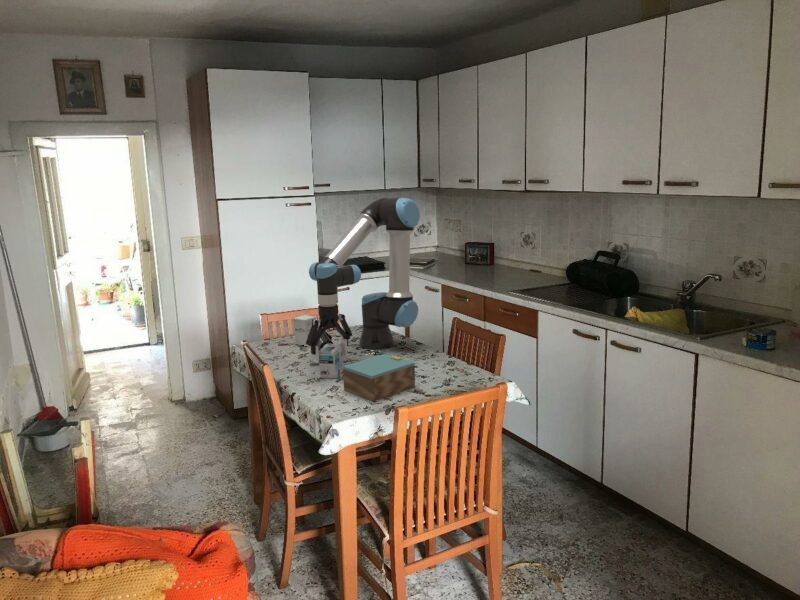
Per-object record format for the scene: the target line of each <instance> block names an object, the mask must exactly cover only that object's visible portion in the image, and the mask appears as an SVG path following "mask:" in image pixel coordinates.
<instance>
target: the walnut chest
mask: <svg viewBox="0 0 800 600" xmlns="http://www.w3.org/2000/svg"><path fill="white" fill-rule="evenodd" d="M415 367H416V366H415V365H414V366H411V367H408V368H404V369H401V370H398V371H395V372H392V373H389V374H386V375H383V376H380V377H376V378H373V379H370V378H368V377H365V376H362V375H359V374H356V373H353V372H350V371H347V370H345V369H343V372H342V376H343V390H344V391H346V392H348V393H350V394H353V395H354V396H355V395H356V396H358V397H360V398H363V399H366V400H368V401H371V402H375V401H377V400H378V401H379V400H380V398H381V399H383V397H384V398H386V397H388V396H389V397H390V396H392V395H395V394H398V393H400V392H403V391H407V390H409V389H412V388H415V387H416V371H415V370H416V369H415Z"/></svg>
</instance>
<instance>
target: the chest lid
mask: <svg viewBox="0 0 800 600" xmlns="http://www.w3.org/2000/svg"><path fill="white" fill-rule="evenodd" d="M414 365H415V362H414V361H411V360H408V359H404V358H403V357H400V356H397V355H391V354H387V353H384V354H379V355H377V356H373V357H369V358H366V359H363V360H359V361H356V362H353V363H350V364H345V365H344V366H343V369H345V370H347V371H350V372H353V373H356V374H359V375H362V376H365V377H368V378H370V379H373V378H376V377H380V376H383V375H386V374H389V373H392V372H395V371H398V370H401V369H404V368H408V367H411V366H414Z"/></svg>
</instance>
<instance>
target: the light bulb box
mask: <svg viewBox="0 0 800 600" xmlns="http://www.w3.org/2000/svg"><path fill="white" fill-rule="evenodd" d="M318 356H319V363H318V364H319V367H318V368H319V377H320V379H322V378H323V379H337V378H338V377H339V376H340V375H341V374H343V366H345V365H344V355H343V346H342V344H341V343H326V344H324V345H323V347H321V348H320V349H318Z"/></svg>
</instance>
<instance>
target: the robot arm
mask: <svg viewBox="0 0 800 600" xmlns="http://www.w3.org/2000/svg"><path fill="white" fill-rule="evenodd" d="M420 217H421V213H420V208H419V206H418V204H417V203H416V201H414V200H413V199H412V198H407V197H380V198H378V199H375V200H374V201H372V202H371V203H369V204H368V205H367V206H366V207H364V208H363V209H362V210H361V212H360V213H359V214H358V215H357V219H356V221H355V222H354V223H353V224H352V226H351V227H350V228H349V229H348V230H347V231H346V232H345V233H344V235H343V236H342V237H341V238H340V239H339V240H338V242H337V243H336V244H335V245H334V246H333V247H332V248H331V250H329V252H328V253H327V254H326V255H325V256H324V257H323V259H321V261H320V262H318V261H317V262H313V263H312V264H311V265H310V266H309V268H308V274H309V277H310V279H311V280H313V281H314V282H316V286H317V289H316V290H317V304H318V305H317V307H318V309H317V311H318V316H319V317H318V318H319V319H316V320H315V319H313V320H312V326H311V329H310V332H309V335H308V338H307V341H306V345H309V346H308V347H310V354H311V355H312V362H313V363H316V364H319V352H318V351H319V346H318V345H317V344H319V341H320V339H321V338H322V336H323V334H324V333H325V332H326V331H327V330H330V329H335V330H336V331H337V332H338V333H339V334H340V336H341V337H342V338H340V344H342V346H343V356H345V357H346V356H348V347H349V340H350V338H351V337H352V336H353V332H352V330H351V329H350V326H349V324H348V322H347V321H346V315H345V314H343V313H339V305H338V303H339V297H338V288H340V287H346V286H350V285H355V284H358V283H359V282H360V280H361V279H362V271H361V269H360V267H359V266H358V265H356V264H348V265H344V264H345V263H346V262H347V261H348V259H349V258H350V257H351V256H352V255H353V254H354V252H355V251H356V250H357V249H358V247H359V246H360V245H361V244H362V243H363V242H364V241H365V239H366V238H367V237H368V236H369V235H370V233H373V232H375V231H376V230H377V229H378V228H379V227H380V228H381V227H382V226H385V231H386V233H387V234H388V235H389V250H388V251H389V256H388V257H389V261H388V263H389V265H388V266H389V267H388V268H389V269H388V273H389V275H388V278H389V279H388V284H389V285H388V291H387V292H385V291H384V292H373V293H368V294H365V295H363V296H362V298H361V316H362V330H361V335H360V338H359V347H361V348H364V349H368V350H379V349H387V348H391V347H392V346H393V345H394V344H395V343H394V342H395V341H394V337H393V333H392V331H391V329H390V326H394V327H398V328H409V327H411V326H412V325H413V324H414V323H415V321H416V319H417V318H418V315H419V305H418V303H417V302H416V301H415V300H413V298H414V294H413V293H411V291H410V266H411V265H410V259H411V255H410V254H411V248H410V247H411V244H410V243H411V234H412V233H414V231H415V227H416V226H418V224H419V221H420ZM338 322H339V323H338Z"/></svg>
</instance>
